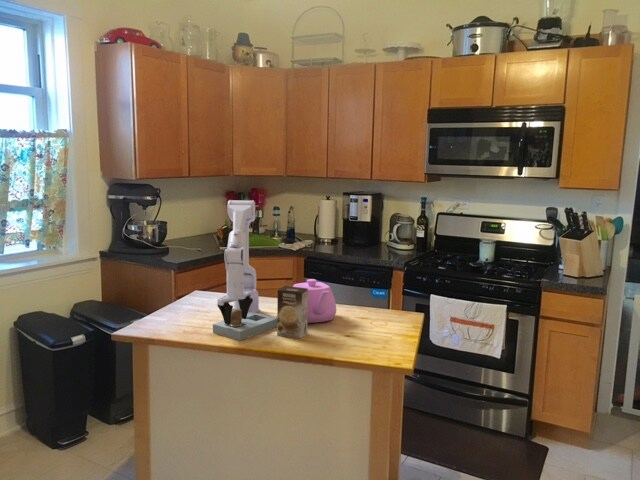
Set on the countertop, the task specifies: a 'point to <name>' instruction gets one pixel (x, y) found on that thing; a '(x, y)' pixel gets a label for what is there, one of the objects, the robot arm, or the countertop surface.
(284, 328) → the coffee box
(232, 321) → the walnut peg
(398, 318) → the countertop surface
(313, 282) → the teapot
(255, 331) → the grey board with holes
